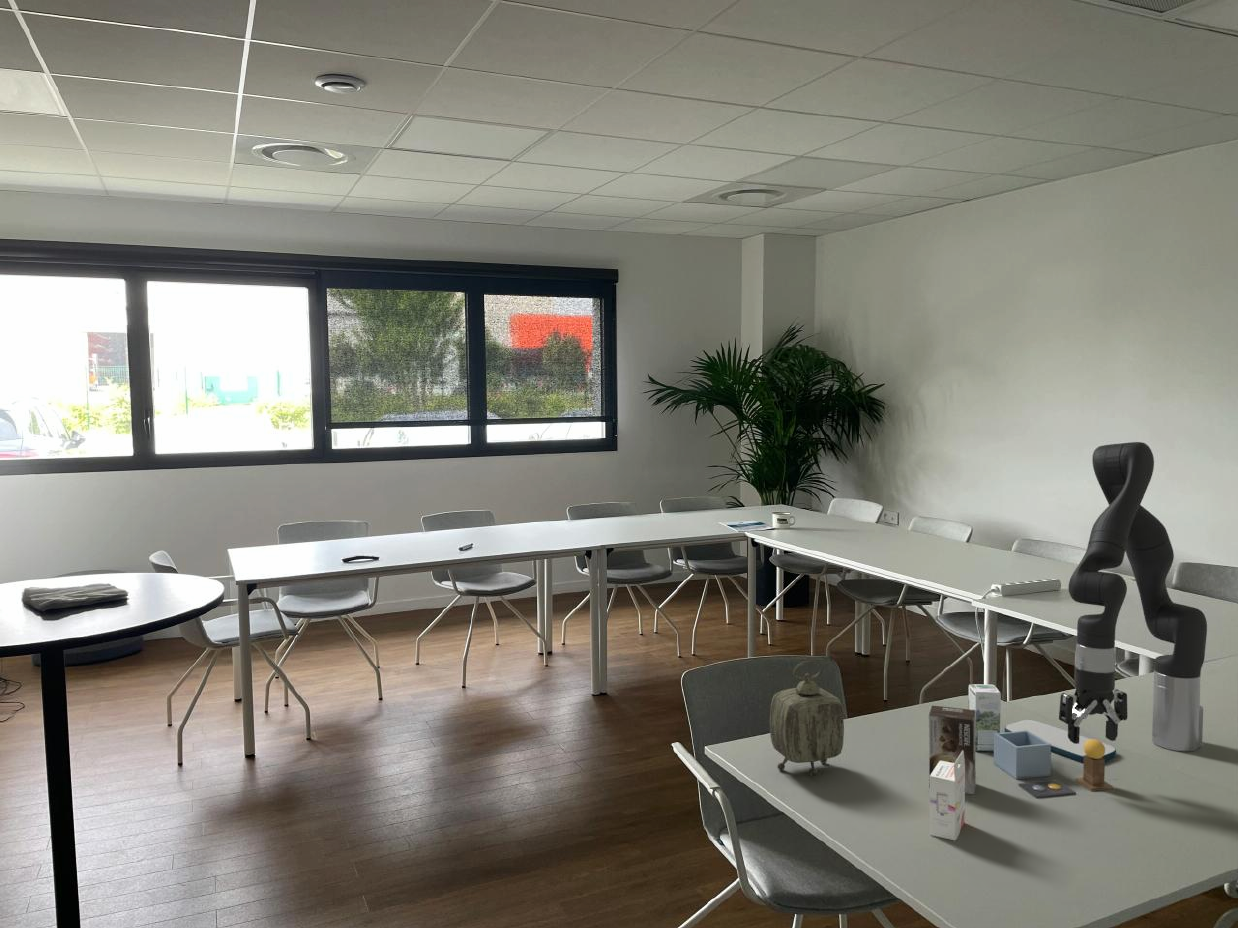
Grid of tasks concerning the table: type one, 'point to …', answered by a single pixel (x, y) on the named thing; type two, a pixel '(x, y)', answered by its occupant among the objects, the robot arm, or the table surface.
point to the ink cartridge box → (947, 798)
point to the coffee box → (953, 740)
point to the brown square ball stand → (1093, 774)
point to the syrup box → (985, 714)
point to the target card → (1046, 788)
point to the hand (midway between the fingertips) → (1092, 740)
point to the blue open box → (1022, 754)
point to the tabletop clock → (806, 722)
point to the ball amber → (1094, 749)
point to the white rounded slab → (1058, 739)
